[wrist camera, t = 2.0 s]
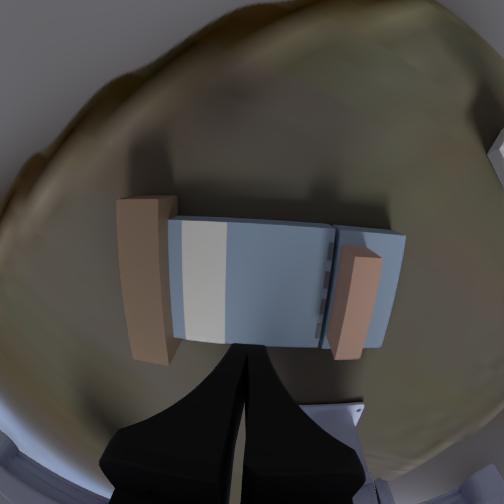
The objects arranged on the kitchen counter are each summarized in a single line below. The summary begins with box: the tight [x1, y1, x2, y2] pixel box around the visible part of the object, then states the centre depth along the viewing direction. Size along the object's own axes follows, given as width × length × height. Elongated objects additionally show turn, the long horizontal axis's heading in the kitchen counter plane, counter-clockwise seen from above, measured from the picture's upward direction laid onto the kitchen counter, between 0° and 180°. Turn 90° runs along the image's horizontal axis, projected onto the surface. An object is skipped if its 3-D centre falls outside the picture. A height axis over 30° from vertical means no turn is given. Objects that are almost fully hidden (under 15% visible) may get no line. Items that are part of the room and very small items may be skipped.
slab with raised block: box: [319, 225, 406, 360], centre depth 18 cm, size 9×5×5 cm, turn 177°
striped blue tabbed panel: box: [116, 195, 336, 366], centre depth 19 cm, size 12×14×4 cm
